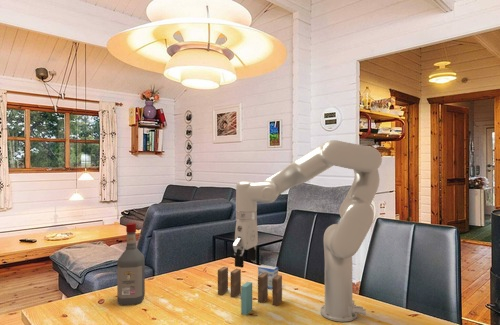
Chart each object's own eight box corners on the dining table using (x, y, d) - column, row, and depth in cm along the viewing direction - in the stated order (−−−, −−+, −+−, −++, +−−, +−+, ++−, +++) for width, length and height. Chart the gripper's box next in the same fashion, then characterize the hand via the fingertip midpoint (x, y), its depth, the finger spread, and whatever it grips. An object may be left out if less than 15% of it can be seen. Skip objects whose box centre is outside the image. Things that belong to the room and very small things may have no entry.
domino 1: (228, 291, 143) (228, 267, 143) (221, 295, 139) (221, 270, 139) (223, 290, 144) (223, 266, 144) (217, 294, 140) (217, 270, 140)
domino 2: (240, 293, 141) (240, 269, 141) (234, 297, 136) (234, 272, 136) (236, 292, 141) (236, 268, 141) (230, 297, 137) (230, 272, 137)
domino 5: (282, 301, 133) (281, 275, 133) (277, 306, 128) (277, 279, 128) (277, 300, 134) (277, 274, 134) (272, 305, 129) (272, 278, 129)
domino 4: (267, 298, 135) (267, 273, 135) (262, 303, 131) (262, 277, 131) (263, 297, 136) (263, 272, 136) (257, 302, 132) (257, 276, 132)
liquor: (141, 305, 129) (141, 225, 129) (116, 306, 128) (115, 226, 128) (145, 295, 139) (145, 221, 139) (122, 296, 137) (121, 222, 137)
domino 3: (252, 309, 125) (252, 282, 125) (246, 315, 121) (246, 286, 121) (247, 308, 126) (247, 281, 126) (241, 314, 121) (241, 286, 121)
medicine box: (257, 286, 148) (257, 266, 148) (262, 283, 152) (261, 264, 152) (274, 290, 145) (274, 269, 144) (278, 286, 148) (278, 266, 148)
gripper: (244, 220, 114) (243, 271, 114) (265, 213, 129) (264, 258, 129) (225, 218, 117) (224, 268, 117) (247, 211, 133) (246, 256, 133)
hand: (245, 263), depth 123 cm, fingers open, 9 cm apart
